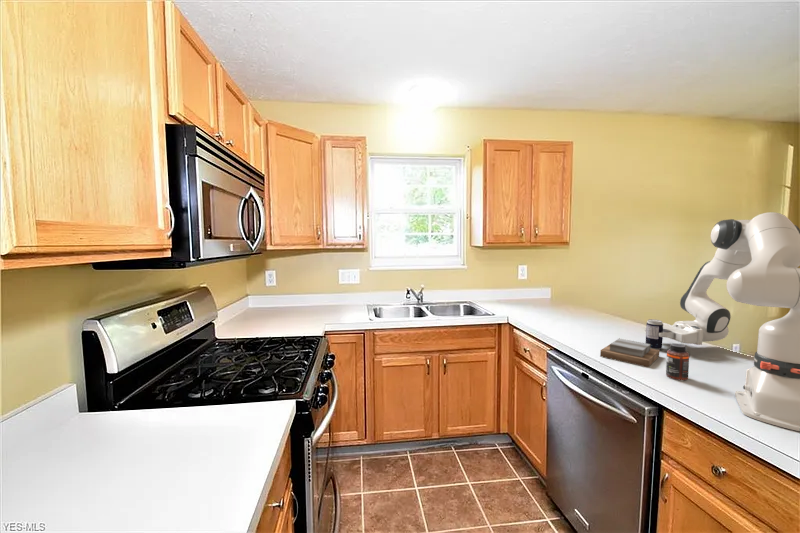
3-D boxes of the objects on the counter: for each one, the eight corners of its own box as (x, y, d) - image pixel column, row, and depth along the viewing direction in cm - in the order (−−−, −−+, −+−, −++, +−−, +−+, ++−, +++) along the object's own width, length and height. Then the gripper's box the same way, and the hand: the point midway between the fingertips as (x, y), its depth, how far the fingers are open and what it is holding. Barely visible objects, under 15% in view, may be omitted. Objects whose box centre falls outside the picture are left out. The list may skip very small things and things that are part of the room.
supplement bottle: (689, 377, 118) (691, 344, 117) (686, 382, 114) (688, 349, 113) (667, 372, 122) (668, 341, 121) (664, 377, 118) (665, 345, 117)
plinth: (648, 367, 127) (648, 353, 127) (600, 356, 139) (600, 344, 139) (659, 356, 138) (659, 344, 137) (613, 347, 150) (614, 335, 149)
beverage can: (664, 350, 144) (666, 322, 143) (649, 350, 145) (650, 322, 144) (657, 346, 149) (658, 319, 148) (642, 346, 151) (644, 318, 150)
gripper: (665, 318, 157) (635, 319, 157) (706, 330, 137) (672, 331, 136) (664, 331, 158) (634, 332, 157) (705, 346, 137) (671, 347, 137)
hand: (652, 332), depth 147 cm, fingers closed on beverage can, 6 cm apart
